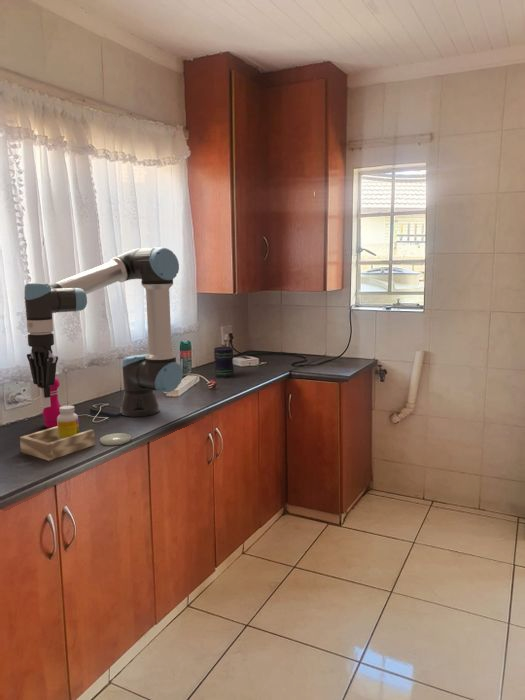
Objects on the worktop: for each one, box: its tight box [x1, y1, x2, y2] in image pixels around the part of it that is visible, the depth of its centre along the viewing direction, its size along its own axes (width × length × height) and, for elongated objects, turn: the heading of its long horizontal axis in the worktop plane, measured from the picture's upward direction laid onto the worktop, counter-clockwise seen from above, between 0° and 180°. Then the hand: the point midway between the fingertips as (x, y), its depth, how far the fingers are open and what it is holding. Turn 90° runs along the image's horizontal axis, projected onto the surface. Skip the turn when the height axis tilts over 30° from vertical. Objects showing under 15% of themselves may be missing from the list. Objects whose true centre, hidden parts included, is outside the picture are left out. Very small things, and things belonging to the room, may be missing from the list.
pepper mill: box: [42, 376, 62, 429], centre depth 205 cm, size 7×7×20 cm
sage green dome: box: [99, 432, 132, 446], centre depth 188 cm, size 10×10×1 cm
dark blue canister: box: [213, 346, 234, 380], centre depth 287 cm, size 10×10×15 cm
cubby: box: [19, 426, 96, 462], centre depth 181 cm, size 18×14×5 cm
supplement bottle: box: [57, 405, 80, 440], centre depth 183 cm, size 7×7×13 cm
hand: (45, 406), depth 176 cm, fingers closed
